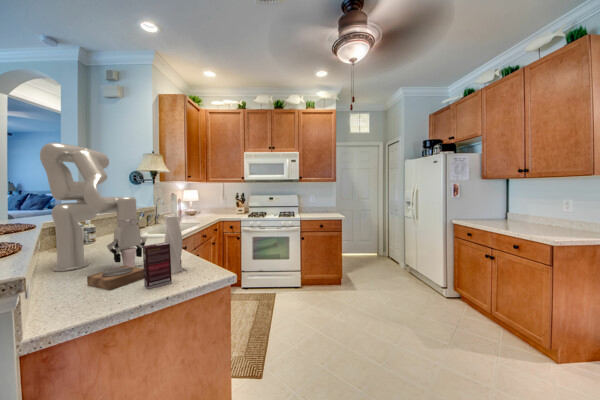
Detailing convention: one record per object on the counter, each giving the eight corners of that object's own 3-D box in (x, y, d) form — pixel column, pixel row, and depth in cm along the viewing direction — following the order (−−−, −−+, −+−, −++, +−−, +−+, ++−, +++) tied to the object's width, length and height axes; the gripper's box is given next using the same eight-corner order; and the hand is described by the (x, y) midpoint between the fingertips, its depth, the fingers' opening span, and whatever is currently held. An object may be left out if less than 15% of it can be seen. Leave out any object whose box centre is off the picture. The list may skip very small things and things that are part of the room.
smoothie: (140, 267, 116) (139, 238, 116) (129, 271, 110) (128, 241, 109) (128, 266, 117) (127, 238, 116) (117, 271, 110) (115, 241, 110)
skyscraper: (188, 271, 109) (186, 210, 108) (169, 276, 103) (167, 211, 102) (180, 268, 115) (178, 209, 114) (162, 272, 109) (160, 211, 108)
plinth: (87, 285, 94) (87, 275, 94) (124, 273, 107) (124, 264, 107) (110, 290, 89) (109, 279, 88) (146, 277, 102) (146, 268, 101)
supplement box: (168, 280, 98) (166, 241, 98) (172, 283, 95) (170, 243, 94) (143, 286, 92) (142, 245, 92) (146, 289, 89) (145, 247, 88)
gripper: (140, 220, 122) (141, 254, 122) (101, 225, 106) (103, 263, 106) (150, 221, 119) (151, 255, 120) (112, 226, 103) (113, 265, 104)
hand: (128, 259), depth 113 cm, fingers open, 9 cm apart
